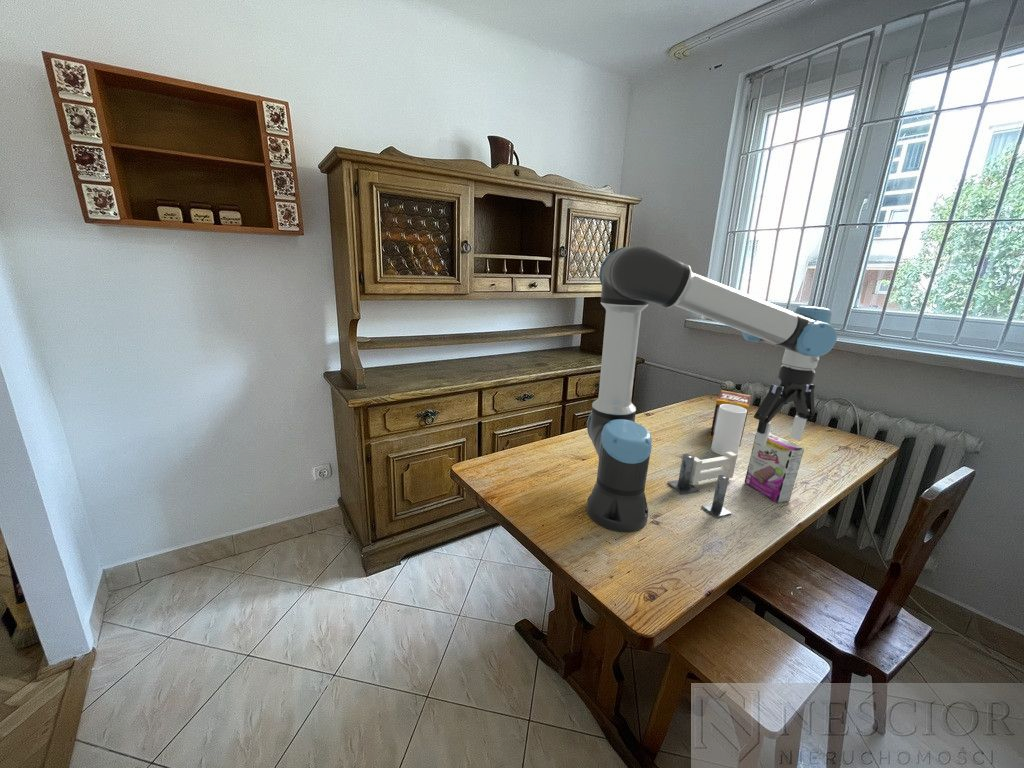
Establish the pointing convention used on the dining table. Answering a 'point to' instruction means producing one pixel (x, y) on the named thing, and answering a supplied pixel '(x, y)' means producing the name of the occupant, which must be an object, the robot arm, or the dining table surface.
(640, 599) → the dining table surface
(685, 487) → the post
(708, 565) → the dining table surface
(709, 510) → the post
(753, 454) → the candy bar box
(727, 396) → the supplement box
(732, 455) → the gate
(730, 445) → the cup
